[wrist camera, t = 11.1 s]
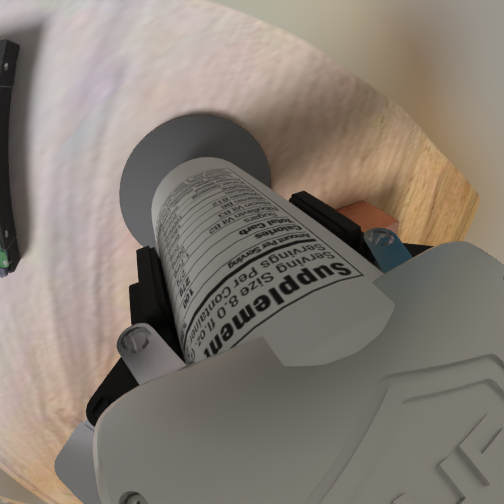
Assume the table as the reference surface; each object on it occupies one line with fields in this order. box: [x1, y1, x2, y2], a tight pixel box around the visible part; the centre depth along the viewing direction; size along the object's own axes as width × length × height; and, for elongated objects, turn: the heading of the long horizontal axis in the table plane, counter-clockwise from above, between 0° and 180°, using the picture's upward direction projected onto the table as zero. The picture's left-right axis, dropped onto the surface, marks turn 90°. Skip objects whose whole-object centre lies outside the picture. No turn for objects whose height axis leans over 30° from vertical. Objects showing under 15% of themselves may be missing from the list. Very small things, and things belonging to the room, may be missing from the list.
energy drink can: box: [151, 157, 395, 366], centre depth 10 cm, size 6×6×15 cm
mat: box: [119, 115, 271, 256], centre depth 17 cm, size 10×10×1 cm
